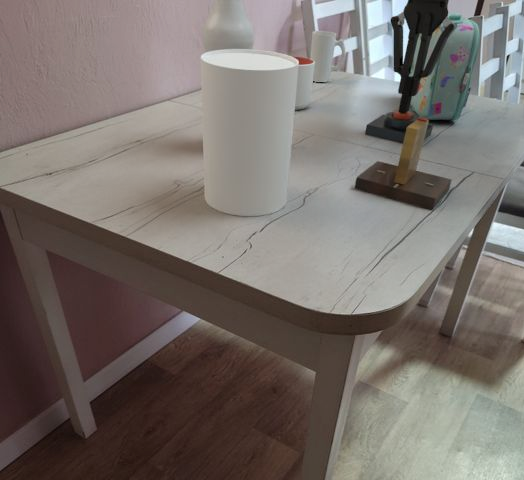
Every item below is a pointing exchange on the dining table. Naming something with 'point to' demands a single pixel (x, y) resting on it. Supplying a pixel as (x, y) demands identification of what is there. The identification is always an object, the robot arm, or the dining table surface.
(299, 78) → the cup
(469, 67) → the lunch box
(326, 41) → the mug
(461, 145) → the dining table surface
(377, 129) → the push button base
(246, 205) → the canister
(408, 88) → the robot arm
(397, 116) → the bell button
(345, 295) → the dining table surface
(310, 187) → the dining table surface
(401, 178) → the block
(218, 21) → the white bottle
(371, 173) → the plate
